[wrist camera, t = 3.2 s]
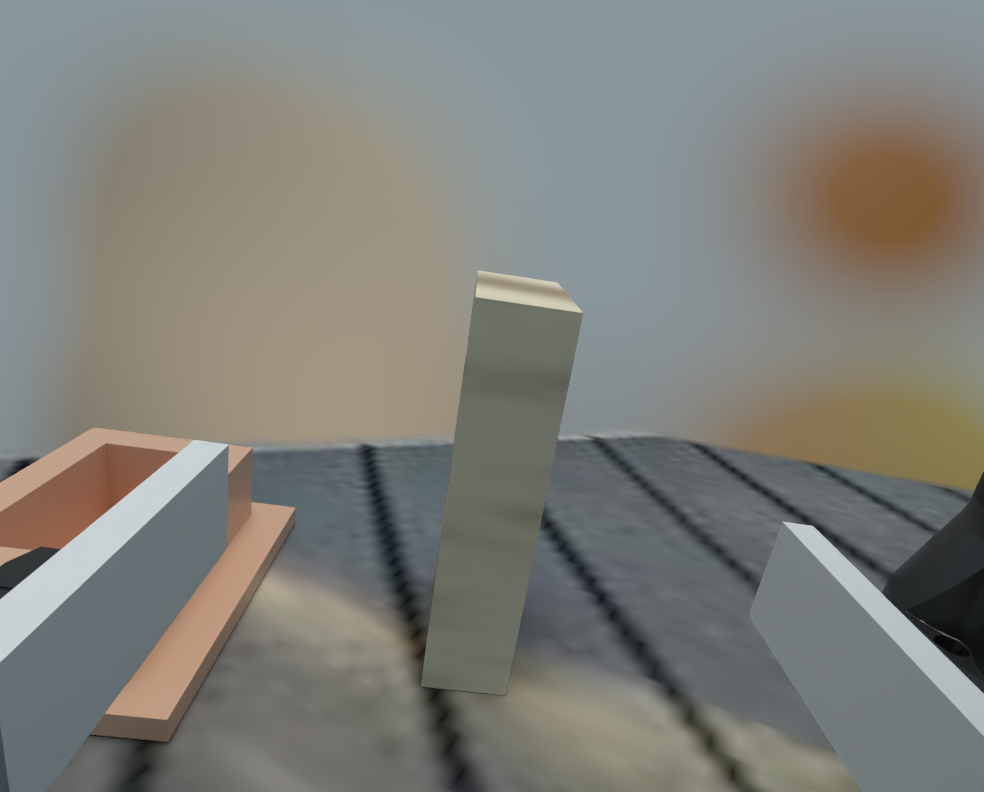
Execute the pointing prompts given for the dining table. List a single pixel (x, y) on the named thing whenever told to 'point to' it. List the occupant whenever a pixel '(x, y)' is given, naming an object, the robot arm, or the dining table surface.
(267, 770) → the dining table surface
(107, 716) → the pink slotted socket
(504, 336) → the mottled beige block
